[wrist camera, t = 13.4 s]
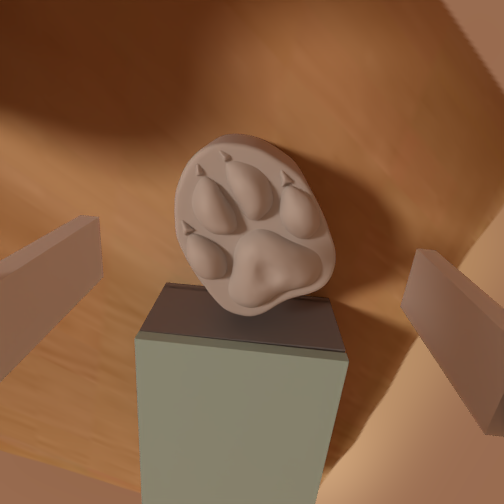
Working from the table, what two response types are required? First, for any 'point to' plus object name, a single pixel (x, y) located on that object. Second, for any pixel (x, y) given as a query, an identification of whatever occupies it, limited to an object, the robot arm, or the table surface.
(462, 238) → the table surface
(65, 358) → the table surface
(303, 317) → the storage box
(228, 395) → the lid
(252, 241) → the lumpy-topped squat cylinder
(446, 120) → the table surface
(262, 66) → the table surface
